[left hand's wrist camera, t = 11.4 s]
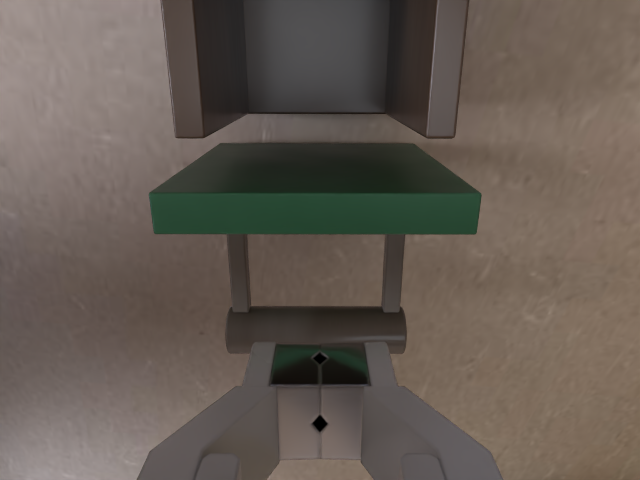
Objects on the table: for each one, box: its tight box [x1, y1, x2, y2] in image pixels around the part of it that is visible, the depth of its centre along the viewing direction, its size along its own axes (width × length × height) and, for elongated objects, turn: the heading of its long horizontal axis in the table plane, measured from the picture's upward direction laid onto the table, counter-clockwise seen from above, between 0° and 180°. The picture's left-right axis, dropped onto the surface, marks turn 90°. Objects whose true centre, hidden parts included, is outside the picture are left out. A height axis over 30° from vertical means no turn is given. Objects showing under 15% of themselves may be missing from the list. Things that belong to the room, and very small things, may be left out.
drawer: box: [149, 0, 481, 354], centre depth 15 cm, size 20×9×9 cm, turn 0°
